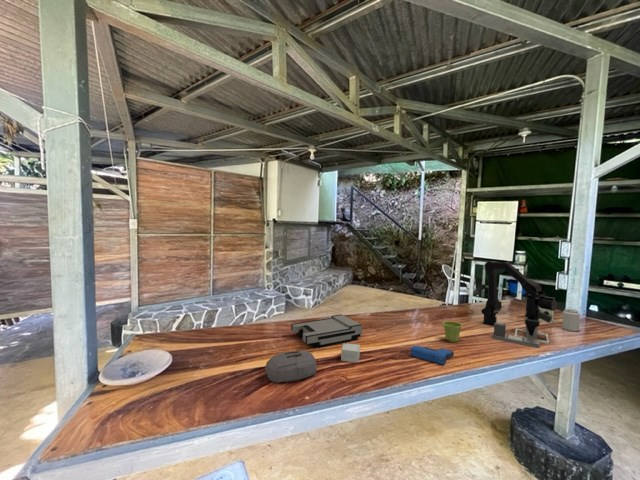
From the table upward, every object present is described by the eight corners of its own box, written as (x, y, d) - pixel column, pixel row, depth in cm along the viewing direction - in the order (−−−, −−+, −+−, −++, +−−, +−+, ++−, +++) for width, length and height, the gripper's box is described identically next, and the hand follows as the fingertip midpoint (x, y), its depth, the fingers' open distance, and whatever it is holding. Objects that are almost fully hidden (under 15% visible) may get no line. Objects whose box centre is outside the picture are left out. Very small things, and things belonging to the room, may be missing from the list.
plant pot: (442, 342, 144) (443, 325, 144) (441, 335, 153) (442, 320, 153) (462, 344, 141) (463, 327, 141) (460, 338, 150) (460, 322, 150)
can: (572, 328, 169) (572, 308, 168) (582, 332, 161) (583, 312, 161) (559, 327, 170) (559, 308, 169) (568, 331, 162) (569, 311, 162)
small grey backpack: (306, 361, 121) (261, 370, 112) (307, 342, 120) (261, 350, 112) (320, 378, 107) (269, 389, 99) (321, 357, 106) (270, 366, 98)
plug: (525, 336, 153) (526, 325, 153) (525, 334, 157) (526, 323, 157) (537, 339, 150) (537, 327, 150) (536, 336, 154) (537, 325, 154)
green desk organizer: (532, 316, 191) (532, 296, 190) (550, 319, 186) (551, 298, 186) (536, 321, 181) (537, 299, 181) (556, 323, 177) (557, 301, 177)
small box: (358, 363, 120) (358, 351, 120) (340, 361, 121) (340, 349, 121) (359, 355, 127) (360, 344, 127) (343, 353, 129) (343, 342, 129)
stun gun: (420, 340, 139) (410, 347, 127) (454, 348, 129) (446, 356, 117) (420, 349, 138) (409, 356, 127) (454, 357, 129) (446, 366, 117)
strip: (492, 338, 150) (492, 335, 150) (493, 333, 157) (494, 331, 157) (539, 348, 138) (539, 345, 138) (538, 342, 145) (538, 339, 145)
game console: (291, 336, 149) (291, 321, 149) (341, 328, 164) (341, 314, 164) (306, 351, 131) (307, 334, 131) (362, 340, 146) (362, 325, 145)
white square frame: (514, 337, 152) (514, 335, 152) (515, 329, 164) (515, 328, 164) (549, 343, 143) (549, 342, 143) (547, 335, 155) (547, 334, 155)
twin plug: (493, 335, 151) (494, 323, 151) (494, 332, 155) (495, 321, 155) (504, 337, 148) (505, 325, 148) (505, 334, 152) (505, 323, 152)
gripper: (552, 312, 141) (551, 342, 141) (550, 305, 156) (549, 332, 156) (525, 308, 148) (524, 337, 148) (525, 302, 163) (524, 328, 163)
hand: (531, 333), depth 154 cm, fingers open, 6 cm apart
